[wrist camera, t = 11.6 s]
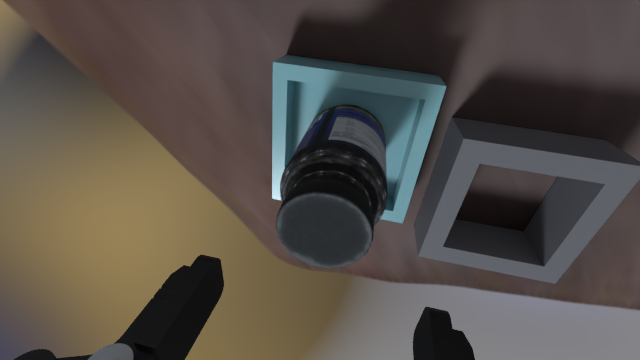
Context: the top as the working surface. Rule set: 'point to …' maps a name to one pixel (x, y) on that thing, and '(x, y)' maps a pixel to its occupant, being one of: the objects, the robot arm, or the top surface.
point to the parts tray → (368, 93)
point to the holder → (550, 218)
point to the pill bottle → (334, 188)
